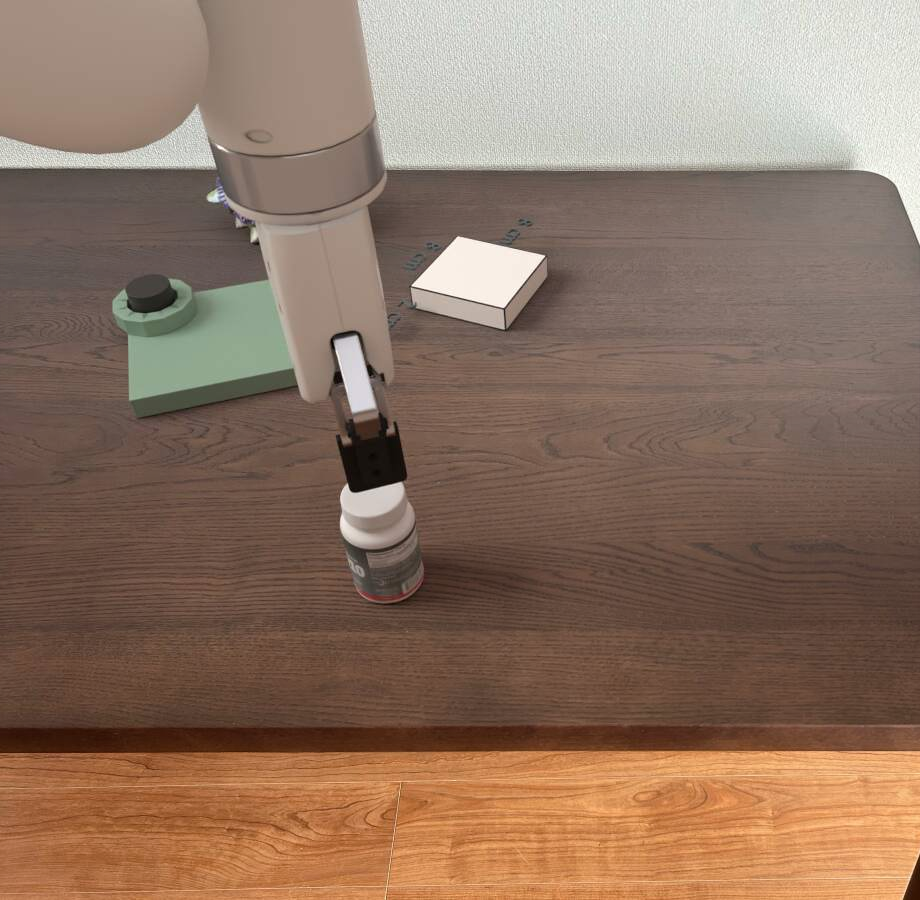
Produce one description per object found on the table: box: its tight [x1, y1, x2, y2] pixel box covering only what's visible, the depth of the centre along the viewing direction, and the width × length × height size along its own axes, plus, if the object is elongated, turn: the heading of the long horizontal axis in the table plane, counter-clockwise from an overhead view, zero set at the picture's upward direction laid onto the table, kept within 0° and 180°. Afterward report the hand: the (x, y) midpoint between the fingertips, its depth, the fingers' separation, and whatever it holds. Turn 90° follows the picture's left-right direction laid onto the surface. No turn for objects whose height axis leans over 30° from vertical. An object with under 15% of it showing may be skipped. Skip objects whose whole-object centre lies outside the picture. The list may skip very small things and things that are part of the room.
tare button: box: [124, 273, 175, 314], centre depth 83 cm, size 4×4×2 cm
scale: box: [112, 278, 298, 419], centre depth 83 cm, size 17×15×4 cm
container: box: [387, 217, 549, 332], centre depth 91 cm, size 20×11×3 cm, turn 159°
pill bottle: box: [339, 482, 425, 604], centre depth 63 cm, size 5×5×8 cm
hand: (363, 427), depth 57 cm, fingers open, 9 cm apart
